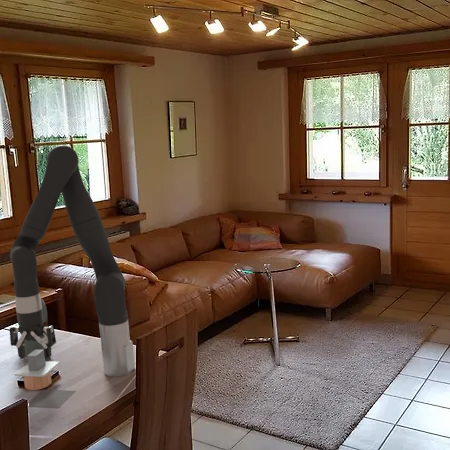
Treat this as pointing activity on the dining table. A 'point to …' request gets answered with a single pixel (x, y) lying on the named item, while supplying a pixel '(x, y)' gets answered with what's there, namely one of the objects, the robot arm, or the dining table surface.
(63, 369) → the dining table surface
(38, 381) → the bowl
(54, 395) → the mat
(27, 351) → the bottle
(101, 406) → the dining table surface
